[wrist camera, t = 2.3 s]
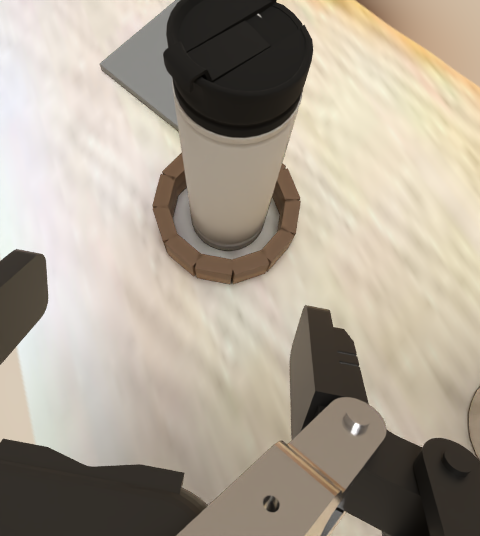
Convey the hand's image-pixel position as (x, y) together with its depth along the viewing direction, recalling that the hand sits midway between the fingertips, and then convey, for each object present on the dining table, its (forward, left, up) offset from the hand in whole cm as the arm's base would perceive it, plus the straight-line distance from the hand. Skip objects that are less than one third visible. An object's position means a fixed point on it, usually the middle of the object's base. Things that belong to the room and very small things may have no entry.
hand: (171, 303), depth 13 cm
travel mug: (+6, -10, -21) cm, 24 cm away
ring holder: (+6, -10, -21) cm, 24 cm away
